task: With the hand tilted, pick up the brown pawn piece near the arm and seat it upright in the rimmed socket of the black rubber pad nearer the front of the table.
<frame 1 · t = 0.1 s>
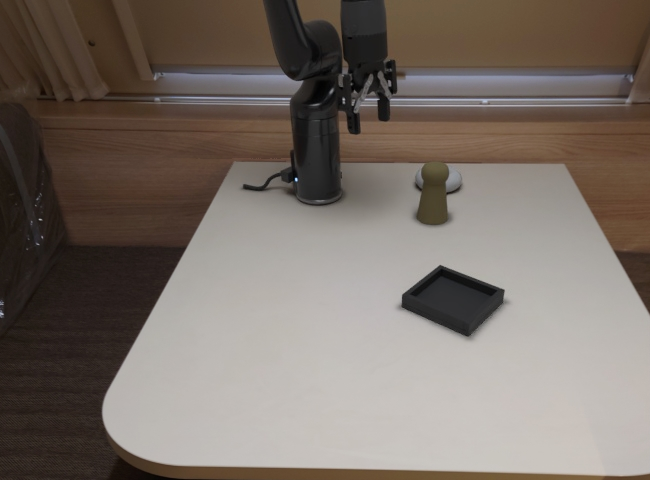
hand: (369, 127, 103), 17 cm above the table, tool pointing down, fingers open, 8 cm apart
pad: (452, 304, 88), on the table
brown pawn piece: (432, 218, 111), on the table
donut: (438, 186, 123), on the table
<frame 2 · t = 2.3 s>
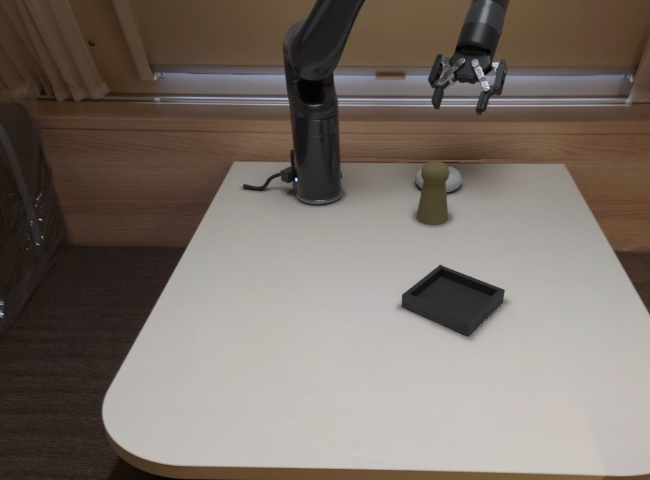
hand: (456, 110, 109), 18 cm above the table, tool tilted 45°, fingers open, 8 cm apart
nothing on the table moved.
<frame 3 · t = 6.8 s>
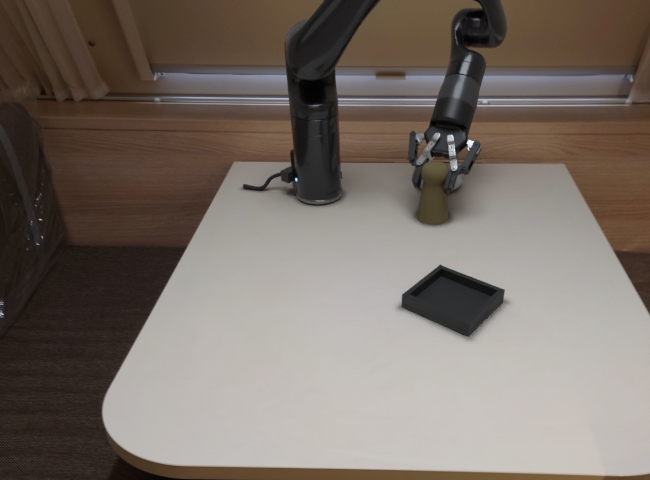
hand: (431, 189, 106), 7 cm above the table, tool tilted 45°, fingers closed on brown pawn piece, 5 cm apart
brown pawn piece: (432, 218, 111), on the table, touching gripper
everything else where it was.
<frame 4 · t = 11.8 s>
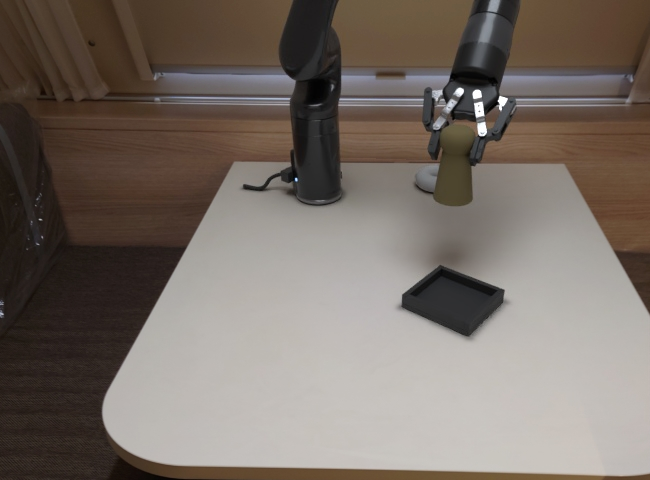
hand: (452, 160, 83), 20 cm above the table, tool tilted 45°, fingers closed on brown pawn piece, 5 cm apart
brown pawn piece: (452, 198, 88), point 13 cm above the table, touching gripper
everything else where it was.
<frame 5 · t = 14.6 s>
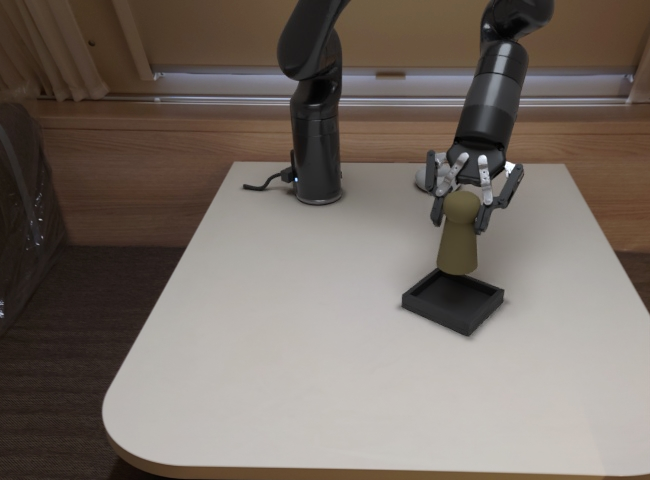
hand: (456, 228, 79), 14 cm above the table, tool tilted 45°, fingers closed on brown pawn piece, 5 cm apart
brown pawn piece: (456, 264, 84), point 7 cm above the table, touching gripper
everything else where it was.
when the fingers open (8 cm above the table, at t = 16.9 s): brown pawn piece stays where it is, resting on pad.
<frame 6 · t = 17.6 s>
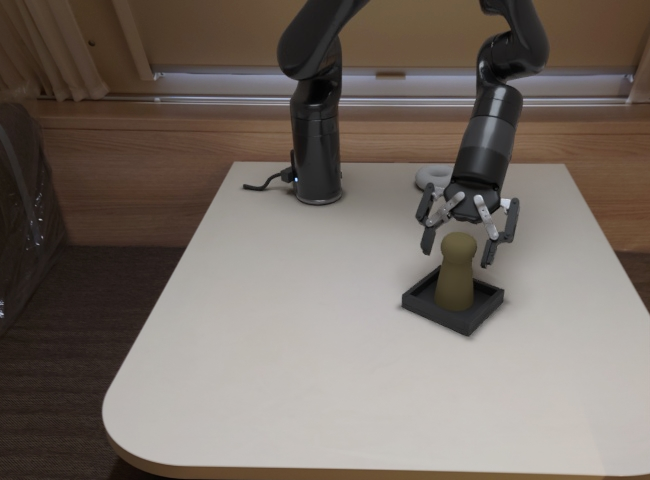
hand: (454, 260, 82), 9 cm above the table, tool tilted 45°, fingers open, 8 cm apart
brown pawn piece: (453, 300, 88), point 1 cm above the table, touching pad
everything else where it was.
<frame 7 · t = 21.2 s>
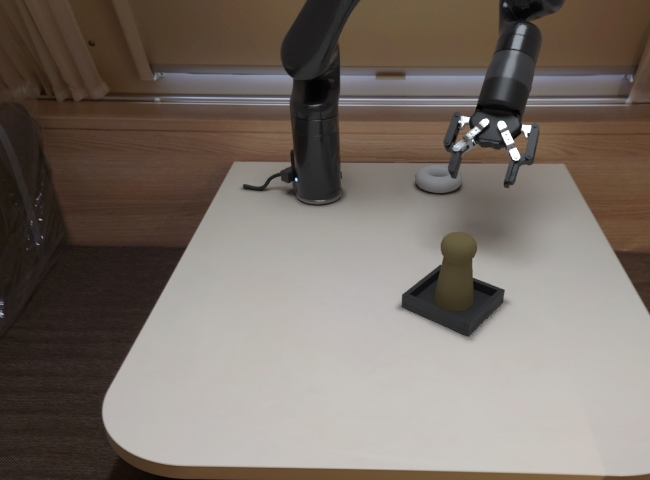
hand: (479, 181, 90), 15 cm above the table, tool tilted 45°, fingers open, 8 cm apart
nothing on the table moved.
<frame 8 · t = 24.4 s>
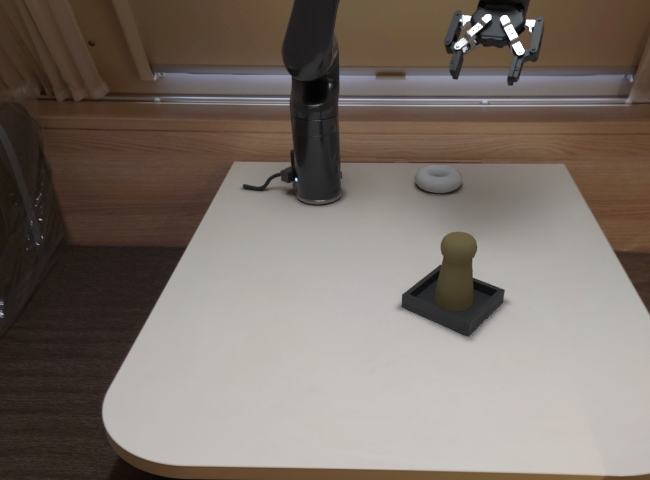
hand: (481, 79, 86), 29 cm above the table, tool tilted 45°, fingers open, 8 cm apart
nothing on the table moved.
at the end: brown pawn piece 0.2 cm off-centre in the pad, point 0.6 cm above the pad's base; brown pawn piece tilted 0° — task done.
